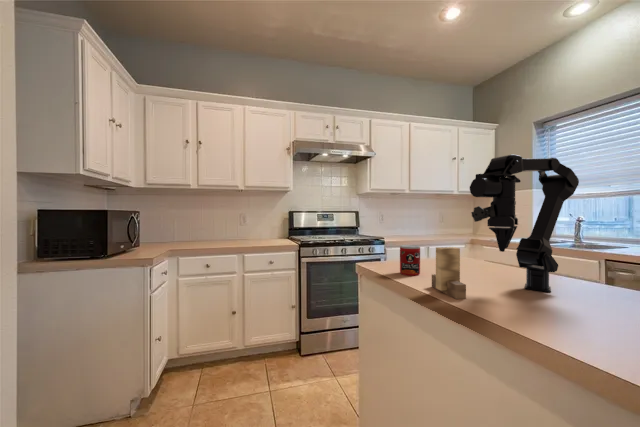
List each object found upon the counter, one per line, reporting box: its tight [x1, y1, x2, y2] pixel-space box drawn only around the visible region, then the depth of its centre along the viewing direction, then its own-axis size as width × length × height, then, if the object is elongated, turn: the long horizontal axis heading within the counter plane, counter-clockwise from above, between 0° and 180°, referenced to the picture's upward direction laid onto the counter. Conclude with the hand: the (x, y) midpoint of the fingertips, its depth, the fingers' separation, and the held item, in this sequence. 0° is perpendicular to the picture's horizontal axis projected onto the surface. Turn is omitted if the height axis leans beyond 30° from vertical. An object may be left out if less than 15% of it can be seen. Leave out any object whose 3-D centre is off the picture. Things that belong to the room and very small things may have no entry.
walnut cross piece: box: [431, 273, 467, 300], centre depth 86 cm, size 13×3×4 cm, turn 7°
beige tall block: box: [435, 246, 461, 292], centre depth 86 cm, size 6×3×12 cm, turn 97°
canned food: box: [399, 244, 421, 277], centre depth 112 cm, size 8×8×11 cm
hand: (503, 249), depth 85 cm, fingers open, 9 cm apart
